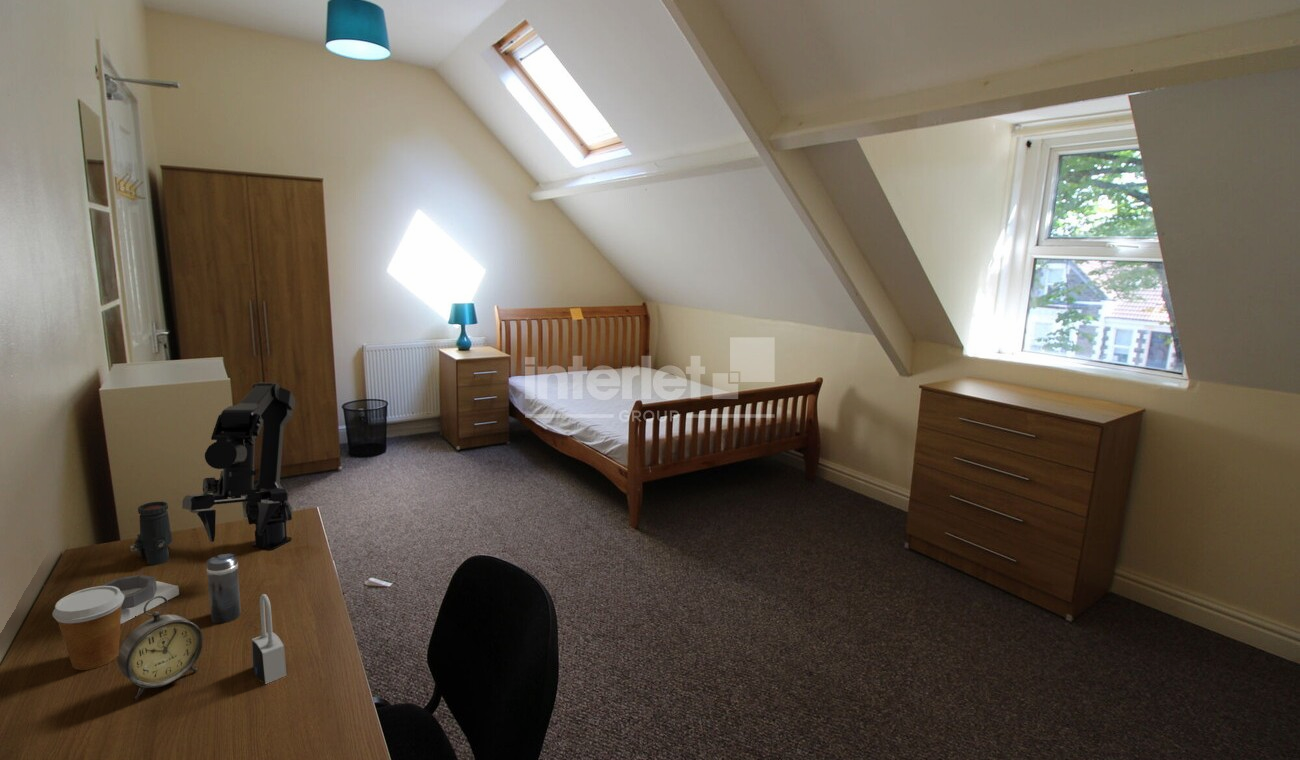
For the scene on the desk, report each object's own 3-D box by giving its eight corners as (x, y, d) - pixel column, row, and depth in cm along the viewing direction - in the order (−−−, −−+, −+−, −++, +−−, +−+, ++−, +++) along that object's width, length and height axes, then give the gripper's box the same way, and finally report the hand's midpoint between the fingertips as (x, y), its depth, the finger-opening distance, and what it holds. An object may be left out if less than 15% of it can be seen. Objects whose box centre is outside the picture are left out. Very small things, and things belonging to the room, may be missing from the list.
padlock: (249, 668, 112) (244, 592, 109) (275, 658, 115) (271, 583, 112) (262, 686, 108) (257, 607, 105) (289, 675, 111) (284, 598, 108)
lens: (227, 607, 130) (223, 551, 128) (247, 611, 129) (243, 555, 127) (204, 620, 125) (199, 562, 123) (224, 625, 124) (220, 566, 122)
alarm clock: (131, 707, 101) (121, 616, 98) (117, 694, 104) (107, 605, 101) (207, 672, 110) (200, 588, 107) (193, 661, 113) (185, 578, 110)
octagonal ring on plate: (143, 586, 136) (141, 567, 135) (179, 594, 134) (177, 575, 133) (70, 620, 123) (67, 599, 122) (108, 630, 121) (106, 608, 120)
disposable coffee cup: (81, 682, 106) (73, 618, 104) (47, 667, 109) (38, 604, 107) (142, 651, 115) (136, 591, 113) (109, 638, 118) (102, 579, 116)
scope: (166, 494, 152) (180, 505, 146) (171, 547, 154) (185, 560, 148) (123, 503, 145) (136, 515, 139) (129, 558, 148) (142, 572, 142)
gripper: (268, 462, 149) (266, 528, 148) (174, 467, 134) (171, 541, 133) (290, 463, 142) (288, 533, 141) (193, 469, 127) (190, 547, 126)
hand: (236, 538), depth 136 cm, fingers open, 9 cm apart
